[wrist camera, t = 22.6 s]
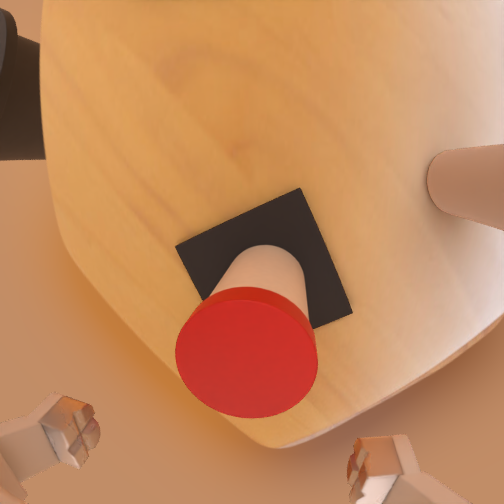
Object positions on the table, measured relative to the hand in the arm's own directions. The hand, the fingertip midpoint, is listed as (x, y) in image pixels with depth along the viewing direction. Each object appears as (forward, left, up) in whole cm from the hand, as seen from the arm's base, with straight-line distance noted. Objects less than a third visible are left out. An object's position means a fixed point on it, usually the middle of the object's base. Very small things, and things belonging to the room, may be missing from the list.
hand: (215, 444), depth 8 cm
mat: (0, 0, -16) cm, 16 cm away
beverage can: (+16, +1, -16) cm, 23 cm away
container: (0, 0, -10) cm, 10 cm away
